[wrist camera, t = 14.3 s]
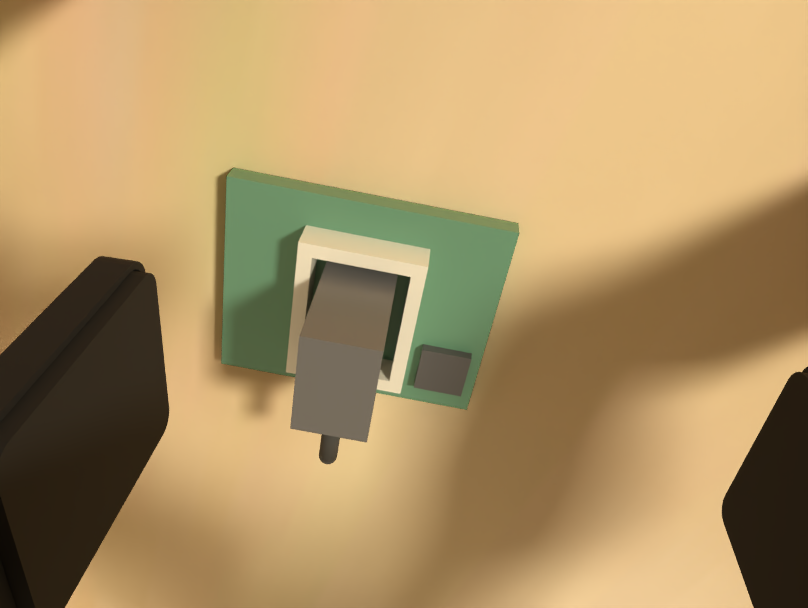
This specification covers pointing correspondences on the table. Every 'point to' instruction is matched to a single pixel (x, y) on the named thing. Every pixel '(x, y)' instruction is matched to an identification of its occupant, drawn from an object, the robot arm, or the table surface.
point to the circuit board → (368, 248)
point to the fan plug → (342, 355)
